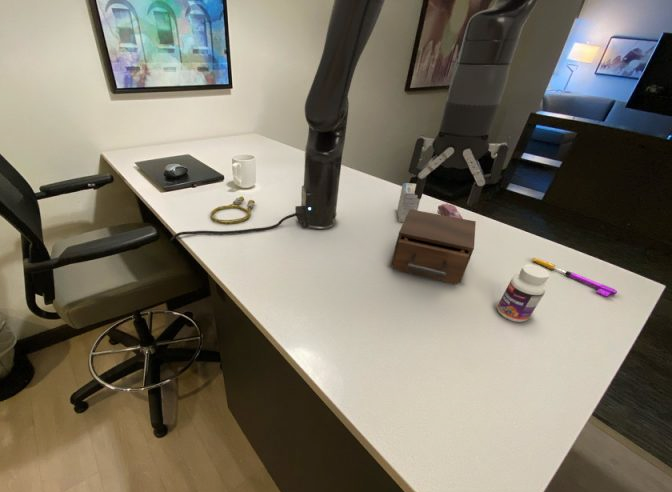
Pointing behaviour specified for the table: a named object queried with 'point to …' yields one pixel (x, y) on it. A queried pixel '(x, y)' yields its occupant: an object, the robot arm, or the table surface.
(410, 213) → the cabinet
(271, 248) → the table surface
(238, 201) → the coiled yellow cable
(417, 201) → the medicine box
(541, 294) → the pill bottle
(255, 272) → the table surface
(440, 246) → the drawer
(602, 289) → the purple and yellow rod
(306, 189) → the robot arm
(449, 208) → the video game controller
